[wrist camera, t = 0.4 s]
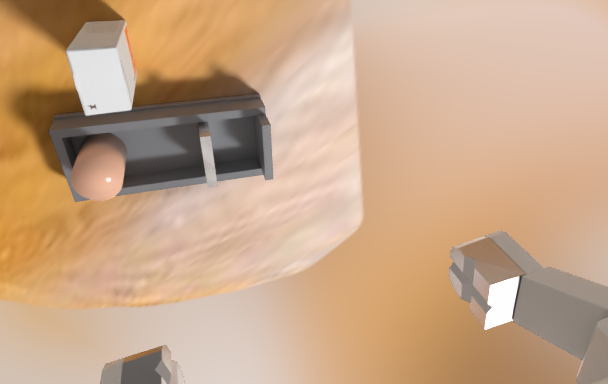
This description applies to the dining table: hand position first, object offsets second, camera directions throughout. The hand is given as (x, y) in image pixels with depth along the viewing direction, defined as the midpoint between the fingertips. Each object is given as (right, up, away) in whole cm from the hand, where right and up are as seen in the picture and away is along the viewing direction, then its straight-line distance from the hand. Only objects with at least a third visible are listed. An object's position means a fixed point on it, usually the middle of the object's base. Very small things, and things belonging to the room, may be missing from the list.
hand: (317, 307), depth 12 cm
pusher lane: (-18, +10, +43) cm, 47 cm away
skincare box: (-22, +19, +35) cm, 46 cm away
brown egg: (-25, +8, +40) cm, 48 cm away
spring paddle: (-13, +10, +43) cm, 46 cm away
